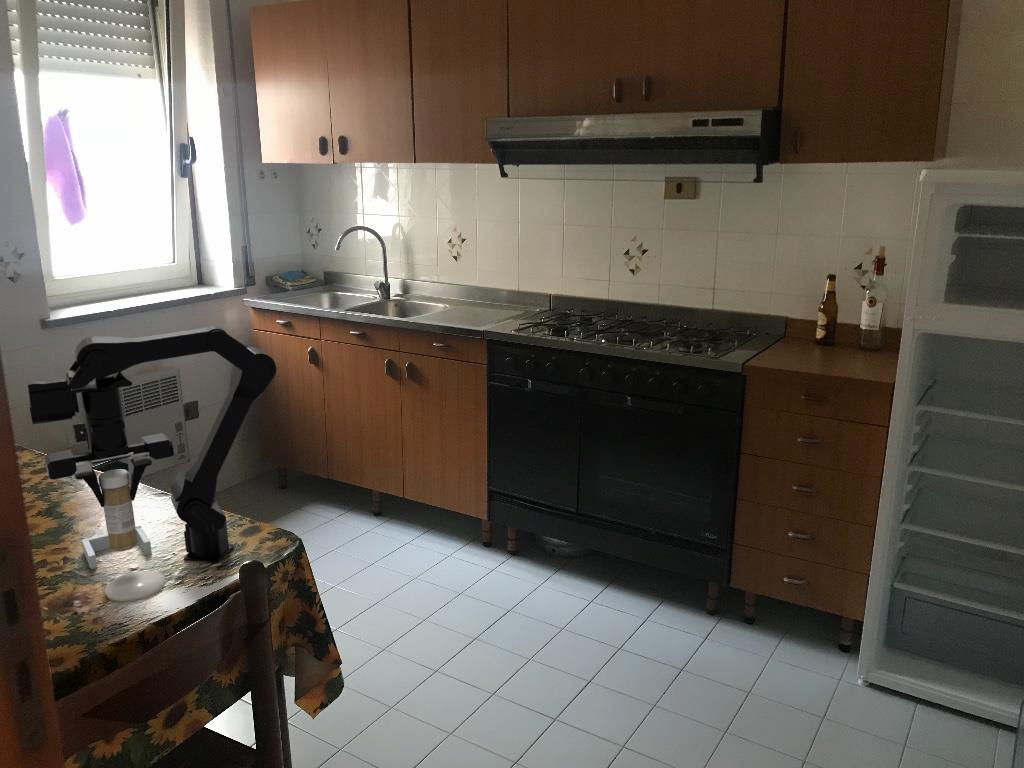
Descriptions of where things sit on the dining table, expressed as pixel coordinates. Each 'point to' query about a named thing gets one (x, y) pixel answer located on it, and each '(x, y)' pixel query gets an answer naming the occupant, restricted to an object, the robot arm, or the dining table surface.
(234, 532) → the dining table surface
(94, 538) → the grey archway
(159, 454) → the robot arm
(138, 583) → the coaster
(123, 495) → the sprinkles bottle
